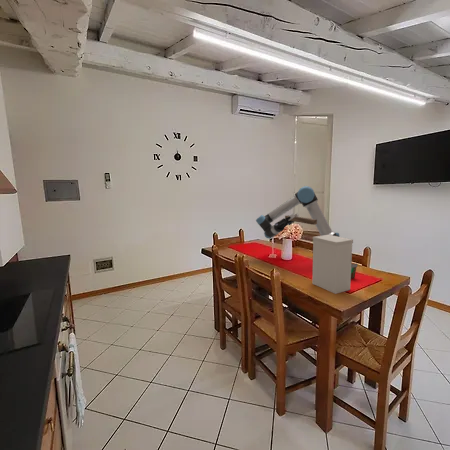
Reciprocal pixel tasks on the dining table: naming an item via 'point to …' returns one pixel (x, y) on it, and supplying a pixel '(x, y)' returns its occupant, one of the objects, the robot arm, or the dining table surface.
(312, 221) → the walnut bar
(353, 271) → the food container
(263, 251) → the dining table surface
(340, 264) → the beige lidded bin
